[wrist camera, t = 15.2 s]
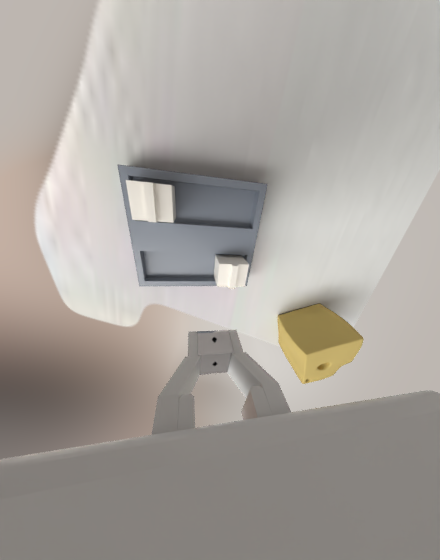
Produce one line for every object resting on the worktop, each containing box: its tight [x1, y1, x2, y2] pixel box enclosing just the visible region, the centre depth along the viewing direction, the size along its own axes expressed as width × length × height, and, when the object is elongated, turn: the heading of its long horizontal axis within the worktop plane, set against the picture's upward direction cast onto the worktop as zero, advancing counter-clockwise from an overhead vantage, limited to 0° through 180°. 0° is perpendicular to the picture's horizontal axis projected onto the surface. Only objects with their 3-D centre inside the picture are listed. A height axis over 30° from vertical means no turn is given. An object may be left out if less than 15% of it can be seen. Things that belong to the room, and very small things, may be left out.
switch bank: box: [118, 165, 267, 286], centre depth 21 cm, size 14×16×3 cm
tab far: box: [214, 255, 249, 289], centre depth 22 cm, size 3×4×4 cm
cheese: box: [278, 304, 363, 384], centre depth 32 cm, size 10×11×10 cm
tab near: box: [126, 180, 176, 223], centre depth 16 cm, size 3×4×4 cm
